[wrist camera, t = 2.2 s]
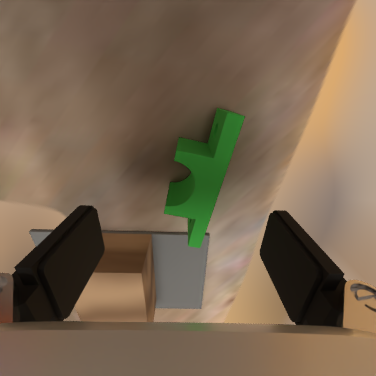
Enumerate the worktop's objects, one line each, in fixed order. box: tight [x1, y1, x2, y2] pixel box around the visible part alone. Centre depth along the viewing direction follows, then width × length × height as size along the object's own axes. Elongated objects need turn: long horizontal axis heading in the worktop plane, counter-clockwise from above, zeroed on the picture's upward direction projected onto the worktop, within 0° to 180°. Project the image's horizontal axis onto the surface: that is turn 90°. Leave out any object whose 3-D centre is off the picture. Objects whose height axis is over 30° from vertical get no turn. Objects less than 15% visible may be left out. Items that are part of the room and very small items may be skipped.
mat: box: [29, 229, 209, 309], centre depth 23 cm, size 14×20×1 cm
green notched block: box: [164, 108, 245, 248], centre depth 15 cm, size 11×4×5 cm, turn 167°
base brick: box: [75, 233, 156, 322], centre depth 21 cm, size 12×7×5 cm, turn 178°
